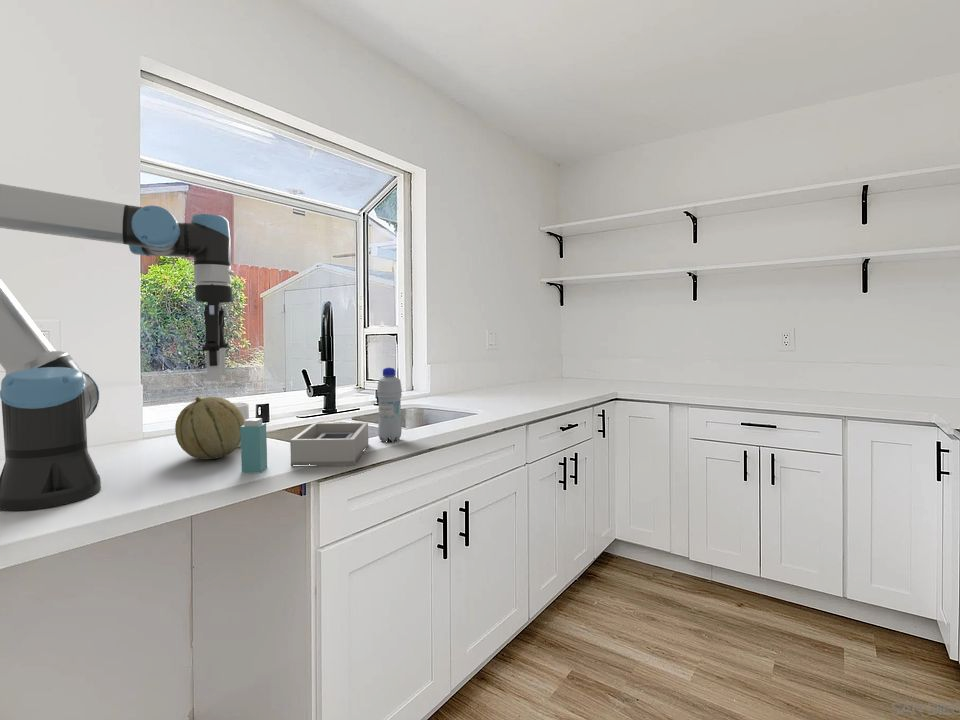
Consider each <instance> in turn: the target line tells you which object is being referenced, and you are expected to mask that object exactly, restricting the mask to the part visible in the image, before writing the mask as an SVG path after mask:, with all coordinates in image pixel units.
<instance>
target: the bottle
mask: <svg viewBox="0 0 960 720" xmlns="http://www.w3.org/2000/svg"><path fill="white" fill-rule="evenodd" d="M382 376H383V377H381V378H379V379H378V380H377V390H376V392H377V393H376V394H377V396H376V397H377V398H378V430H377V433H378V438H379V440H380V441H381V442H385V441H387V442H388V441H389V439H390V442H391V441H393V442H395V441H396V440H398V441H400V439H401V436H402V431H403V430H402V421H401V420H402V419H401V418H402V417H401V414H402V413H401V410H402V409H401V402H402V401H401V398H402V396H403V395H402V392H403V390H402V383H401V379H400V378H398V377H396V369H395V368H393V367H385V368H383V370H382ZM388 438H389V439H388ZM383 440H384V441H383Z"/></svg>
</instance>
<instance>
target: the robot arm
mask: <svg viewBox="0 0 960 720" xmlns="http://www.w3.org/2000/svg"><path fill="white" fill-rule="evenodd" d="M229 223H230V222H229V220H228V219H227V218H225V217H224V216H222V215H217V214H212V213H197V214H196V213H195V214H194V215H192V217H191V222H178V220H177V219H176V217H175V216H174V215H173V213H171V212H170V211H169V210H167V209H166V208H164V207H162V206H158V205H147V206H143V207H142V206H136V205H130V204H125V203H117V202H112V201H106V200H100V199H94V198H89V197H82V196H76V195H71V194H64V193H57V192H51V191H46V190H41V189H34V188H29V187H28V188H27V187H21V186H16V185H10V184H3V183H0V229H6V230H13V231H22V232H29V233H38V234H44V235H51V236H61V237H68V238H75V239H82V240H89V241H99V242H106V243H113V244H120V245H121V244H123V245H128V248H129V251H130V252H131V253H132V254H134V255H137V256H138V255H139V256H140V255H141V256H147V257H159V256H160V257H174V258H175V257H176V258H177V257H178V258H179V257H181V258H193V276H194V277H193V280H194V283H196V285H195V287H194V299H195V302H197V303H206V304H205V305H204V311H203V316H204V326H205V330H204V331H205V332H204V333H205V335H204V336H205V339H204V340H205V341H204V342H205V344H204V346H202V347H201V348H202V352H205V353H206V354H205V355H206V359H205V360H206V381H207V382H219V381H220V382H221V381H222V376H226V375H227V371H226V370H227V369H226V365H227V364H226V348H229V344H228V343H226V340H225V331H224V330H225V328H224V327H225V315H226V314H225V313H226V312H225V310H224V307H223V306H222V305H221V304H224V303H225V304H229V303H232V301H233V288H232V287H231V286H229V285H230V284H232V276H233V275H235V271H234V270H231V269H232V268H231V267H232V265H231V264H232V263H231V262H232V261H231V259H232V257H231V255H232V254H231V234H230V224H229ZM0 366H1V367H2V369H4V370H5V375H4V377H3V378H2V379H1V382H0V400H1V401H0V402H1V414H2V415H1V416H2V428H3V442H4V443H3V444H4V458H5V459H4V460H5V461H4V464H3V468H2V470H1V473H0V510H2V509H5V510H4V511H28V510H39V509H47V508H52V507H57V506H62V505H66V504H72V503H74V502H78V501H82V500H83V499H87V498H90V497H92V496H95V495H96V494H97V493H99V492H100V491H101V490H102V489H101V488H102V486H101V485H102V484H101V483H102V482H101V476H100V474H98V471H97V469H96V466H95V463H94V461H93V459H92V457H91V455H90V453H89V451H88V449H89V448H88V438H87V437H88V435H87V434H88V432H87V431H88V430H87V419H89V417H91V416H92V415H93V414H94V412H95V411H96V410H97V407H98V404H99V401H100V390H99V386H98V384H97V382H96V381H95V380H94V378H93V377H92V376H91V375H90V374H89V373H87V372H85V371H83V370H82V369H81V368H80V366H79V365H78V364H77V363H76V361H75V360H74V358H73V357H72V356H71V355H70V353H69V352H67V351H62V350H57V349H55V348H54V347H53V345H52V344H51V343H50V341H49V340H48V339H47V338H46V336H45V335H44V334H43V332H42V331H41V330H40V329H39V327H38V326H37V324H36V322H34V320H32V318H31V316H29V314H28V313H27V311H26V310H25V309H24V308H23V305H21V304H20V301H18V299H17V298H16V297H15V295H14V294H13V293H12V292H11V290H10V289H9V288H8V286H7V285H6V284H5V282H4V281H3V280H2V279H1V278H0Z"/></svg>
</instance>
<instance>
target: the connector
mask: <svg viewBox="0 0 960 720" xmlns="http://www.w3.org/2000/svg"><path fill="white" fill-rule="evenodd" d="M240 435H241V447H240V462H241V474H261V473H263V472H264V471H265V470H266V469H268V449H267V448H268V447H267V445H268V443H267V439H268V437H267V422H264V423H263V418H261V417H258V418H257V417H256V418H254V417H252V418H251V417H249V419H247V420H245V421H244V425H243V426H241V427H240Z"/></svg>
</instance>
